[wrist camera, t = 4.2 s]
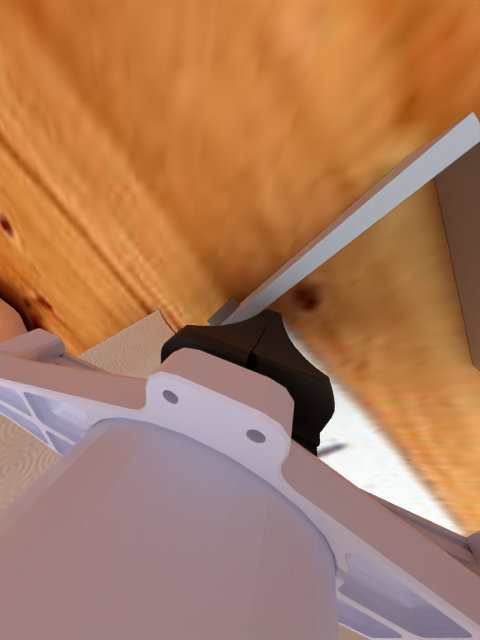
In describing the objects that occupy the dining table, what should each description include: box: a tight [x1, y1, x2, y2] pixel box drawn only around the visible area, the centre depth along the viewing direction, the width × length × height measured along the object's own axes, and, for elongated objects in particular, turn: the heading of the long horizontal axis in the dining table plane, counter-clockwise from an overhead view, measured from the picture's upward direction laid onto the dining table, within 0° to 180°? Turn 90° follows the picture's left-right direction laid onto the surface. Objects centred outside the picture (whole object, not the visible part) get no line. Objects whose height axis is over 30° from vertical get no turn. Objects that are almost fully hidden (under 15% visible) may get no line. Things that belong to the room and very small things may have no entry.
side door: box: [208, 112, 480, 326], centre depth 11 cm, size 2×14×4 cm, turn 135°
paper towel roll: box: [0, 309, 175, 513], centre depth 12 cm, size 7×6×21 cm
